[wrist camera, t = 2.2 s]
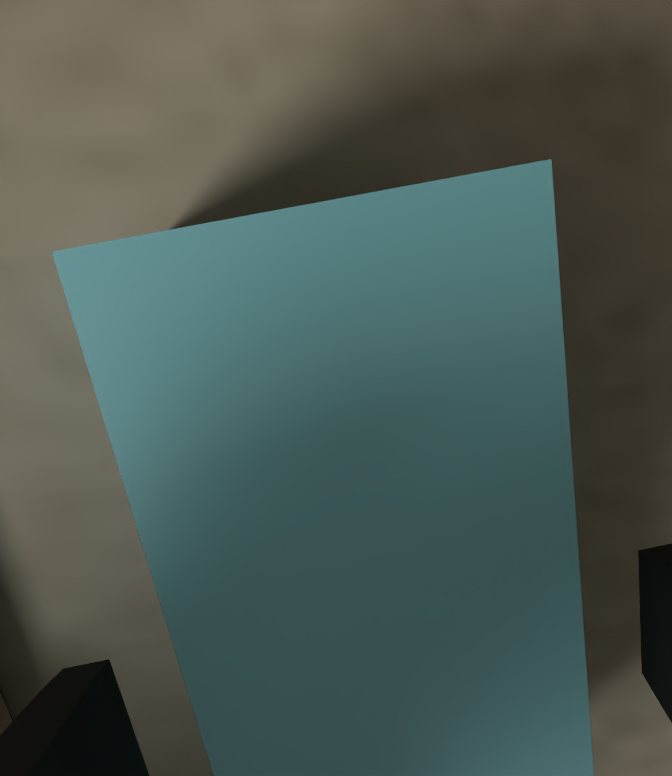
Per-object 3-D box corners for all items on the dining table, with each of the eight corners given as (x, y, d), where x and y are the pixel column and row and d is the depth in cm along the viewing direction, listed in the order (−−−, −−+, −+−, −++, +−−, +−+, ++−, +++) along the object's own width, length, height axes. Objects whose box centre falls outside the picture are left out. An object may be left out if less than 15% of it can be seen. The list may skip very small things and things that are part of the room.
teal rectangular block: (491, 761, 13) (614, 1078, 8) (310, 801, 13) (328, 1149, 8) (416, 186, 10) (551, 158, 5) (167, 233, 9) (52, 252, 5)
